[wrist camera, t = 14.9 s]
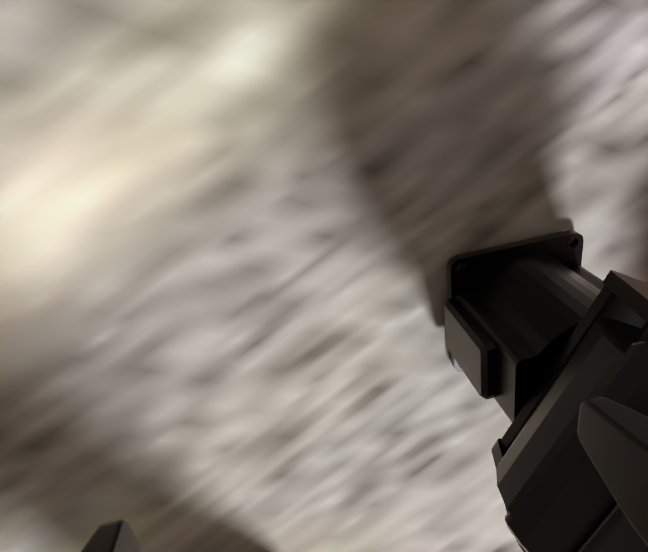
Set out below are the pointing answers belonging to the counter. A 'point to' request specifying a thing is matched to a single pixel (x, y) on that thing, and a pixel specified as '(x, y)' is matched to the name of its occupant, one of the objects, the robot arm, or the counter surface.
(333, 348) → the counter surface
